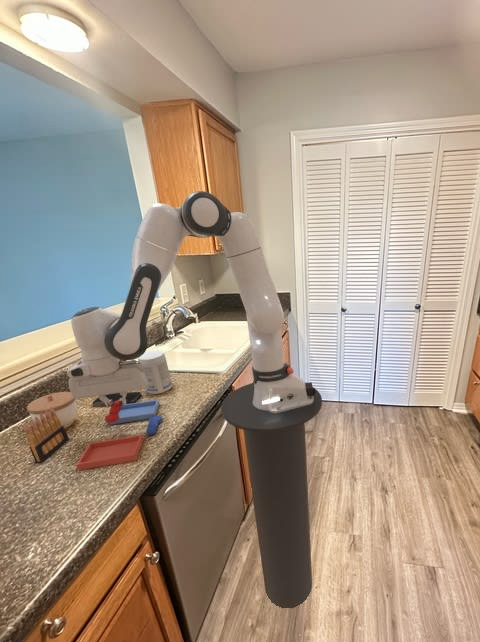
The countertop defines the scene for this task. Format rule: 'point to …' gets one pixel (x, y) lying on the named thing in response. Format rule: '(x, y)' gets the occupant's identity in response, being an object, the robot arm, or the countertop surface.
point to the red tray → (110, 452)
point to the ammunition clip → (45, 435)
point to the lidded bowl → (55, 407)
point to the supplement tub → (156, 372)
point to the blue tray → (137, 411)
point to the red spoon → (114, 412)
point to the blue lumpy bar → (153, 424)
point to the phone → (118, 398)
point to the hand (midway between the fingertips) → (116, 405)
